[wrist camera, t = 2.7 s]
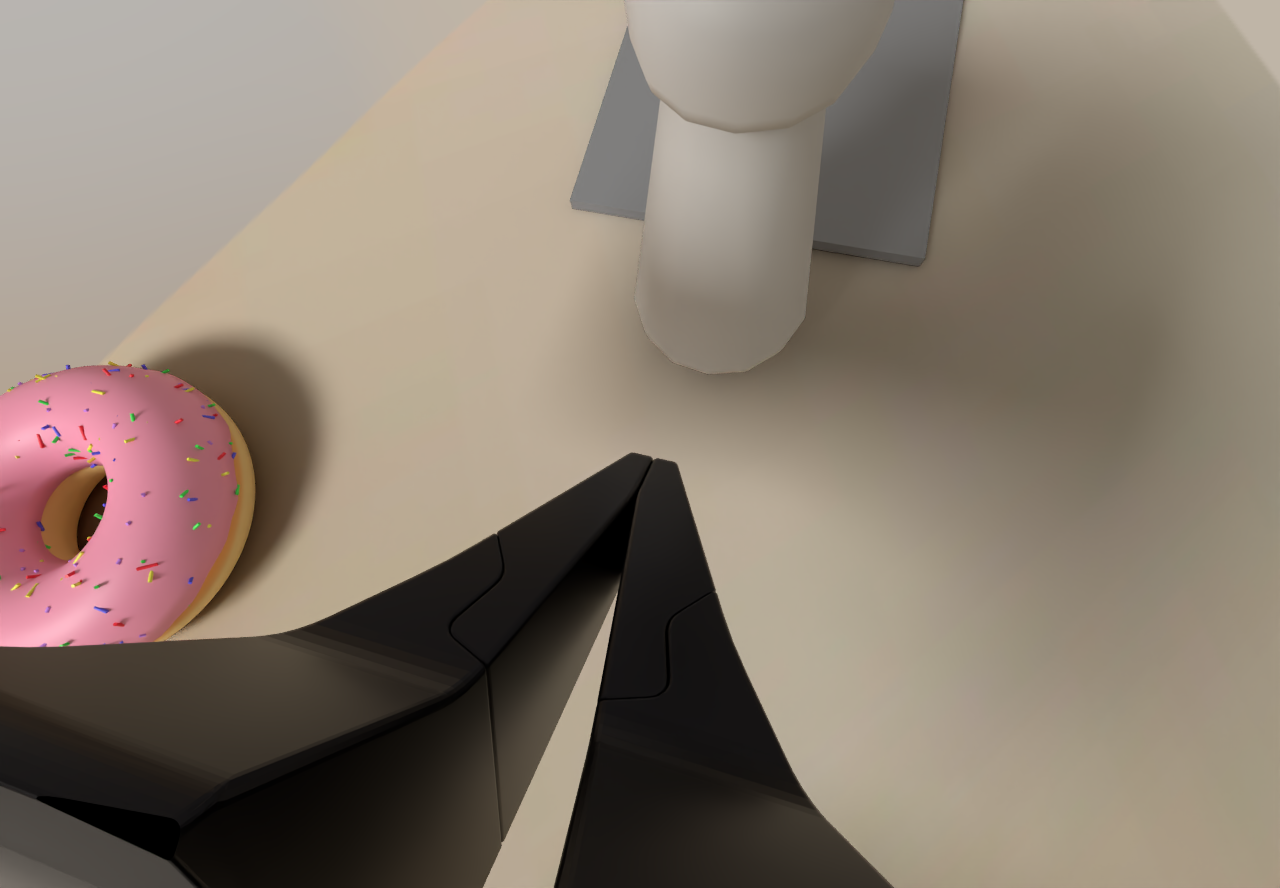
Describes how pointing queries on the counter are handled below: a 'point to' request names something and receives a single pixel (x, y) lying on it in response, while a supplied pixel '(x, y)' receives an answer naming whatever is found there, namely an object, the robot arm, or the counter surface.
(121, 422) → the doughnut
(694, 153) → the salt shaker
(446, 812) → the robot arm
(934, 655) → the counter surface
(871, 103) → the mat
